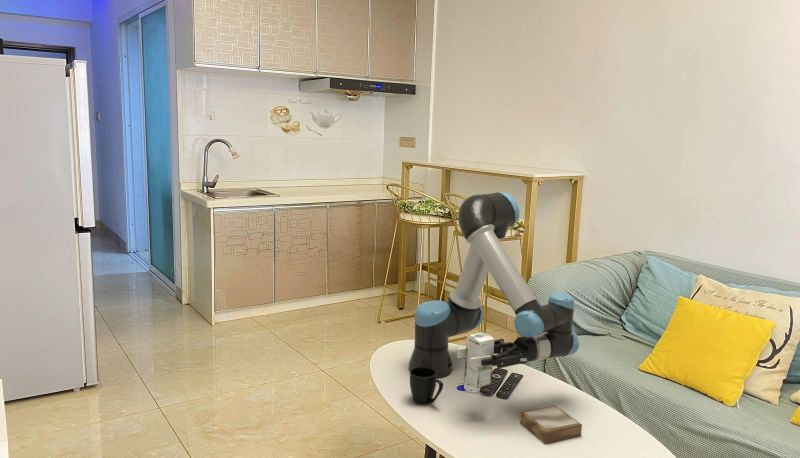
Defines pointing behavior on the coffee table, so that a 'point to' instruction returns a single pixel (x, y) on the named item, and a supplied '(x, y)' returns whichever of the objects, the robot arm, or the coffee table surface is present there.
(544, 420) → the walnut stand
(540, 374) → the coffee table surface
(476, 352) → the syrup box
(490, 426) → the coffee table surface
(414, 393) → the mug
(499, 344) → the robot arm
